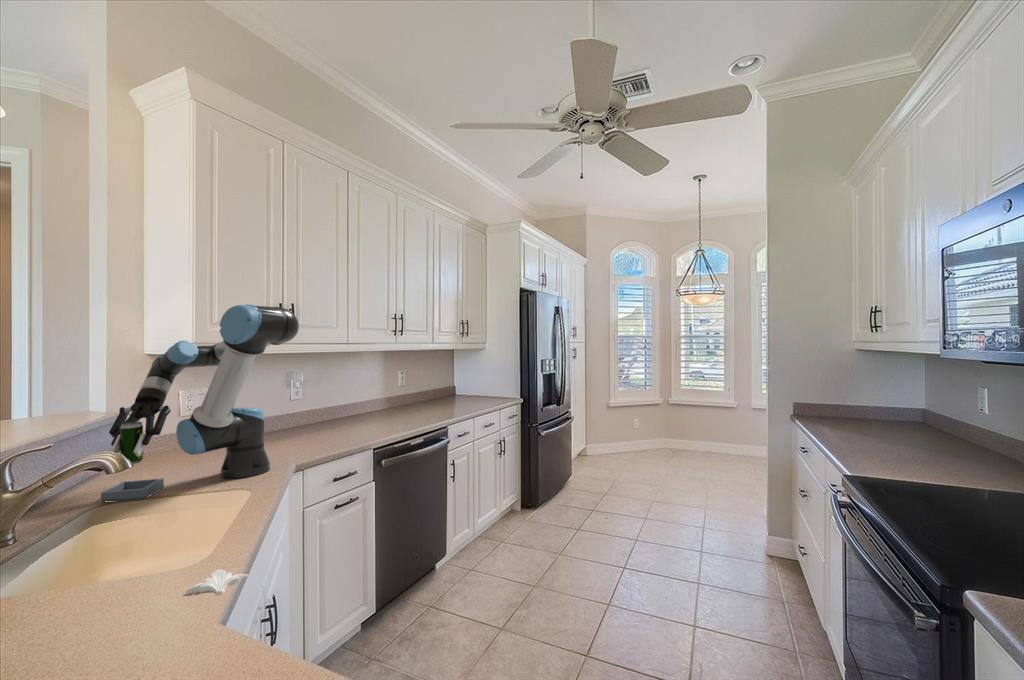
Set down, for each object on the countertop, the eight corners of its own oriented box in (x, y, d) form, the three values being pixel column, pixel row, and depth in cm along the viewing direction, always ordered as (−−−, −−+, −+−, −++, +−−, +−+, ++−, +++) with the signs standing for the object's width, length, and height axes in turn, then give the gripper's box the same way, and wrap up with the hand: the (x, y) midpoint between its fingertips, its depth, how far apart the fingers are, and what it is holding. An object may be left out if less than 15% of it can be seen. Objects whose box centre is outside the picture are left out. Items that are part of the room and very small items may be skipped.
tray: (163, 487, 144) (163, 478, 144) (144, 499, 133) (144, 489, 133) (123, 490, 141) (123, 481, 141) (100, 503, 130) (100, 492, 130)
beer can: (119, 465, 134) (118, 425, 134) (122, 461, 138) (121, 423, 138) (142, 462, 137) (141, 423, 137) (144, 459, 141) (144, 421, 141)
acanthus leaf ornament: (185, 597, 82) (185, 587, 82) (213, 578, 89) (212, 568, 89) (224, 598, 82) (224, 587, 82) (249, 578, 88) (248, 568, 88)
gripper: (188, 399, 154) (165, 459, 139) (125, 401, 150) (94, 463, 134) (180, 385, 149) (155, 445, 133) (115, 387, 145) (81, 450, 129)
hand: (124, 454), depth 134 cm, fingers closed on beer can, 5 cm apart
